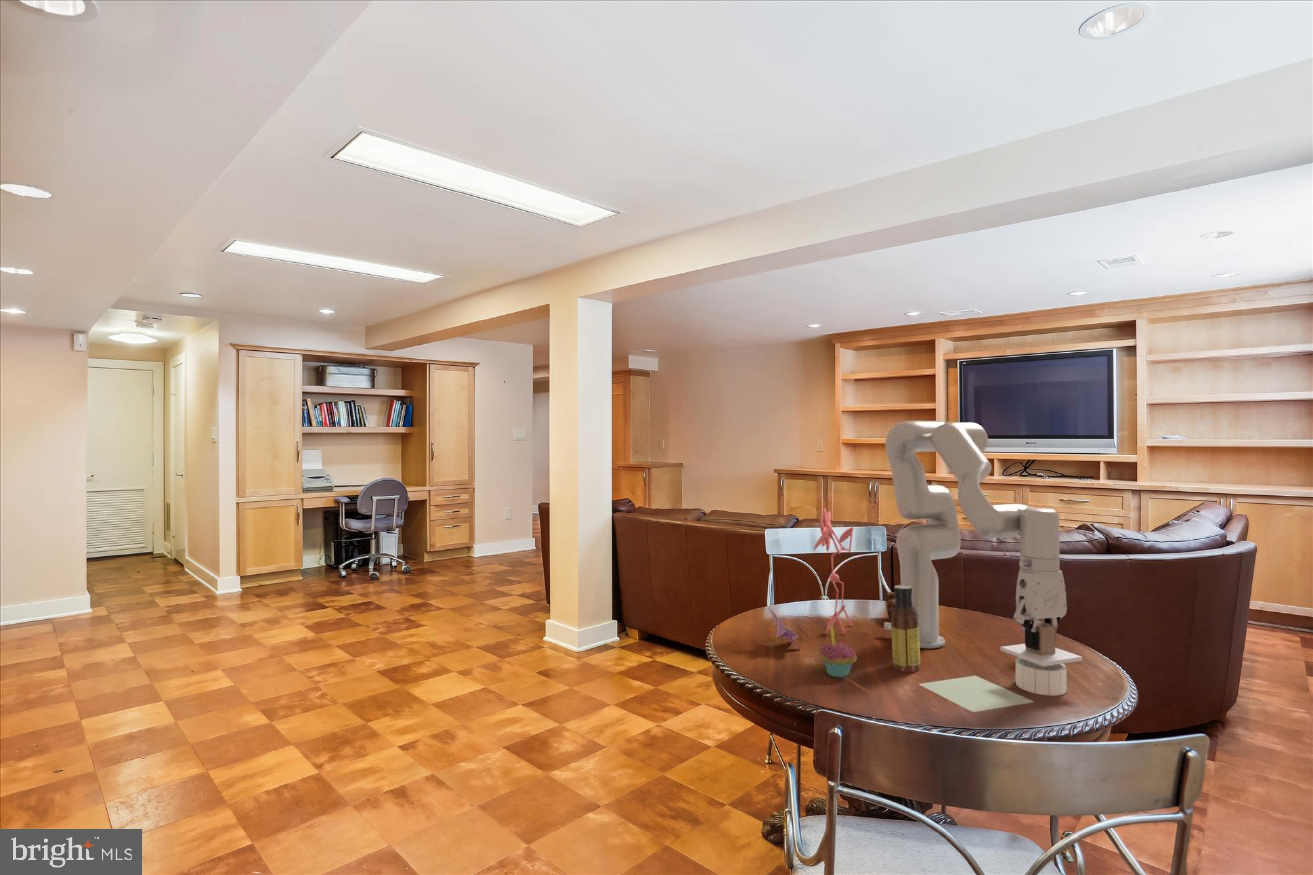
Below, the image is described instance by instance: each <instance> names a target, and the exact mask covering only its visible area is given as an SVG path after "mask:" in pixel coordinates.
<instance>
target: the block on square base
mask: <svg viewBox="0 0 1313 875" xmlns="http://www.w3.org/2000/svg"><path fill="white" fill-rule="evenodd" d="M1031 624H1032V622H1031ZM1037 632H1039V650H1033V649H1031V648H1028V647H1026V646H1025V643H1019V644H1013V645H1006V646H1005V645H1004V646H1000V651H1001V652H1004V653H1007V654H1010V655H1012V656H1014V657H1016V658H1019V657H1020V658H1022V659H1025V660H1028V661H1030V662H1033V663H1036V664H1038V665H1041V666H1049V665H1055V664H1066V663H1067V664H1069V663H1074V662H1080V661H1081V662H1082V661H1083V656H1080V655H1077V654H1075V653H1072V652H1070V651H1067V650H1063V649H1060V648H1058V647H1056V643H1055V626H1053V625H1050V624H1047V623H1043V622H1040V621H1038V626H1037Z"/></svg>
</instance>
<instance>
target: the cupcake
mask: <svg viewBox="0 0 1313 875" xmlns="http://www.w3.org/2000/svg"><path fill="white" fill-rule="evenodd" d="M830 625H831V624H830ZM829 631H830V636H831V642H829V643H826V644H824V645H823V646H822V647H820V649H819V658H820V659H821V661H822V662H823V663H824V665H825V668H826V672H827V674H828V675H829V676H831V677H835V678H846V676H848V675H849V674H850V670H851V668H852V666H853V663H854V664H855V663H856V662H857V660H858V658H857V652H856V650H855V649H854V648H852V647H851V646H850V645H848V644H846V643H845V642H839V641H835V632H834V631H835V630H834V626H833V627H832V625H831V627H830V630H829Z"/></svg>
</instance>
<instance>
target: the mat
mask: <svg viewBox="0 0 1313 875" xmlns="http://www.w3.org/2000/svg"><path fill="white" fill-rule="evenodd" d="M918 685H919V686H921V687H923V688H924V689H927V691H928V690H929V691H931V692H932V693H934V694H936V695H938V696H940V697H942V698H944V699H945V700H948V701H950V702H952V703H954V704H956V705H958V706H959V707H962V708H963V709H966V711H967V710H968V711H969V712H972V713H978V712H983V711H990V710H995V709H997V710H998V709H1001V708H1008V707H1012V706H1020V705H1025V704H1026V705H1027V704H1031V703H1035V701H1034V700H1031V699H1029V698H1027V697H1025V696H1022V695H1020V694H1018V693H1016V692H1014V691H1011V690H1008V689H1006V688H1004V687H1002V686H999V685H997V684H995V683H993V682H990V681H988V680H986V679H984V678H982V677H979V676H977V675H970V676H965V677H958V678H956V677H955V678H951V679H950V678H949V679H943V680H938V681H937V680H936V681H931V682H930V681H929V682H924V683H923V682H922V683H918Z"/></svg>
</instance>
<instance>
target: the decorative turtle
mask: <svg viewBox="0 0 1313 875" xmlns="http://www.w3.org/2000/svg"><path fill="white" fill-rule="evenodd" d="M884 597H885V598H884V599H885V606H886V608H885V609H886V611H887V615H888V619H889V620H890V621H891V612H892V610H893V608H894V607H895V592H894V591H889V592H887V593H886V594H885V596H884Z"/></svg>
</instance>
